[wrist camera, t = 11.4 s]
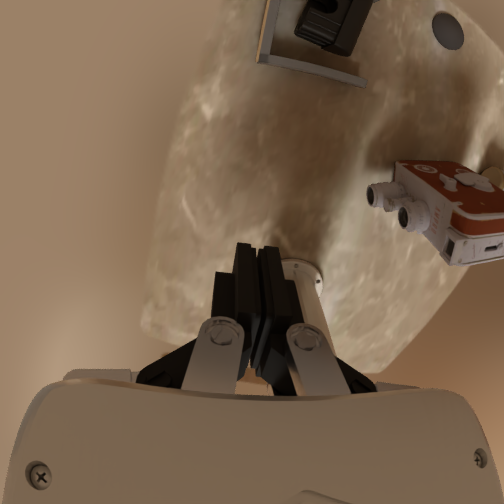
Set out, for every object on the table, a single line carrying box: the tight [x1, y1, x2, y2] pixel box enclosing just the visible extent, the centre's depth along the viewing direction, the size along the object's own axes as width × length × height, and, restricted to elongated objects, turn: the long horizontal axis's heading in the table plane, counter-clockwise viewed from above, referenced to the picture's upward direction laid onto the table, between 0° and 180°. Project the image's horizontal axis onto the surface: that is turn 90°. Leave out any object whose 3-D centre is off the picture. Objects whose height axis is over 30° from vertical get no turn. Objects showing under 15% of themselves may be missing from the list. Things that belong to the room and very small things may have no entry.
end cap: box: [294, 0, 374, 57], centre depth 27 cm, size 10×7×7 cm
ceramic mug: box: [481, 167, 504, 191], centre depth 40 cm, size 11×8×8 cm
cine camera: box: [366, 160, 504, 266], centre depth 34 cm, size 9×19×20 cm, turn 95°
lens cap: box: [432, 14, 464, 50], centre depth 28 cm, size 6×6×1 cm
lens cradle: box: [255, 0, 379, 88], centre depth 29 cm, size 15×14×3 cm
